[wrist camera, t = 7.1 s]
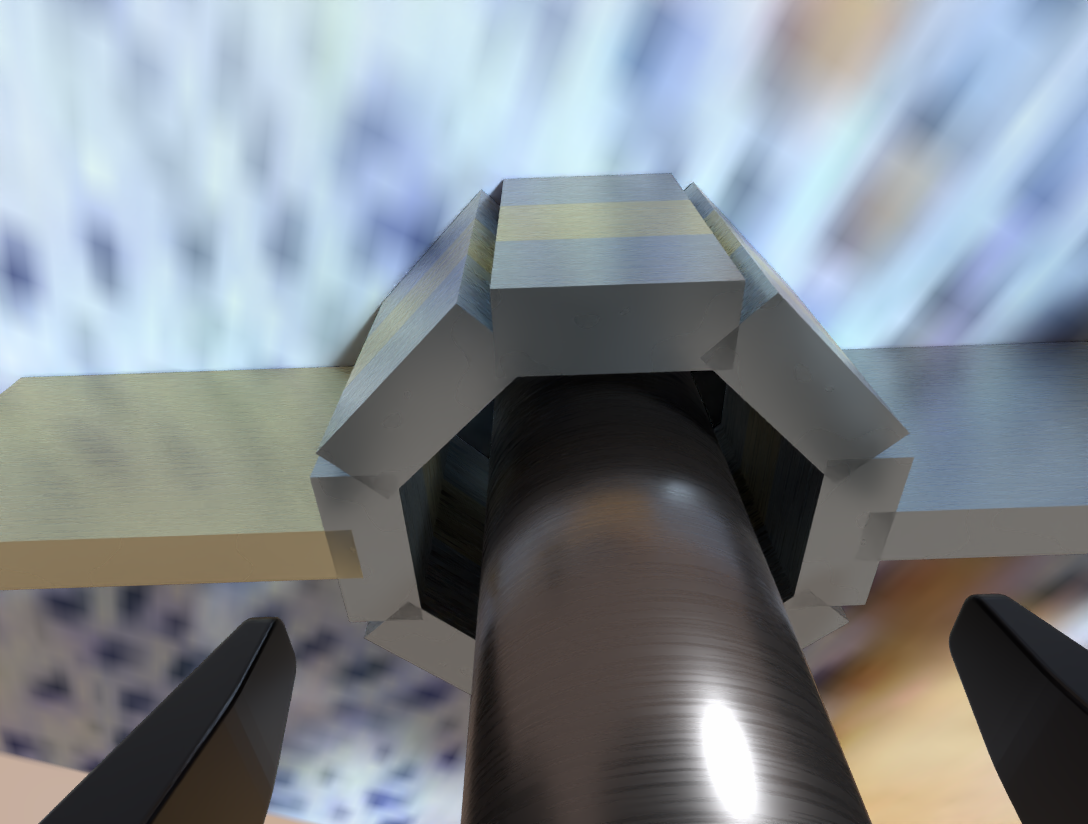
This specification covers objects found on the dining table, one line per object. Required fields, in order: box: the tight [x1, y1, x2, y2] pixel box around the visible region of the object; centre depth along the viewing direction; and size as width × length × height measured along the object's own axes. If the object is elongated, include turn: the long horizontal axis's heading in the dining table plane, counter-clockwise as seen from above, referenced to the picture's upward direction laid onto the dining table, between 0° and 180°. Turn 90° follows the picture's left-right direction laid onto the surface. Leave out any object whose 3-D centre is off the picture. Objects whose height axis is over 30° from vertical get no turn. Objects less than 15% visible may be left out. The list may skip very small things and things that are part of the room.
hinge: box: [0, 173, 1088, 695], centre depth 12 cm, size 24×8×5 cm, turn 92°
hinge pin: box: [461, 371, 872, 824], centre depth 10 cm, size 4×4×10 cm
